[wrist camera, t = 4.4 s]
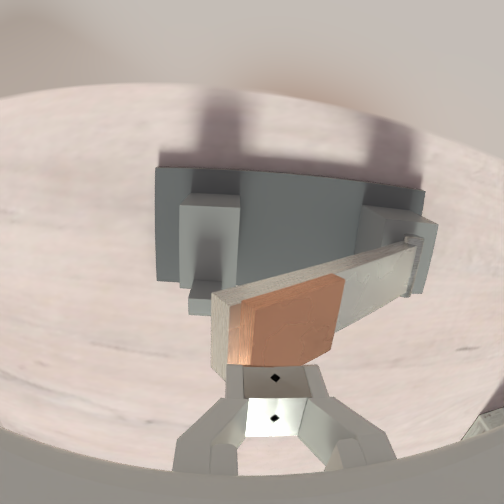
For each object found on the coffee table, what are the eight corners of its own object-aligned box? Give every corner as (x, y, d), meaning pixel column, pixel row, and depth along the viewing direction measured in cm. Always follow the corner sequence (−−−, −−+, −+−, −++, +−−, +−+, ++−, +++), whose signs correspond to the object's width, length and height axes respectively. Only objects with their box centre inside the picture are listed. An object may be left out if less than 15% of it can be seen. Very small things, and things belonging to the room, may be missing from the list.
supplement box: (446, 457, 45) (477, 518, 29) (478, 413, 41) (521, 478, 24) (486, 443, 46) (518, 494, 30) (516, 401, 42) (557, 454, 25)
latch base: (420, 189, 27) (479, 210, 19) (401, 285, 30) (445, 331, 22) (158, 166, 26) (122, 179, 17) (159, 276, 29) (132, 328, 20)
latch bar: (409, 232, 22) (434, 241, 20) (397, 286, 23) (420, 296, 22) (209, 280, 12) (243, 306, 10) (208, 371, 13) (237, 401, 12)
